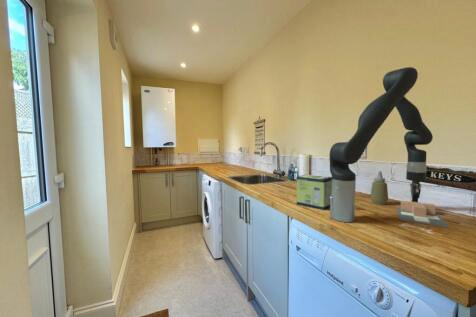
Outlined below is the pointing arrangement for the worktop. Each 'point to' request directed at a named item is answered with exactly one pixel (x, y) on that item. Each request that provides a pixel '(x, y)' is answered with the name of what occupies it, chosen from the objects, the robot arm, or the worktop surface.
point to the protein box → (314, 191)
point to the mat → (422, 218)
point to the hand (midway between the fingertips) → (414, 205)
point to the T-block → (418, 208)
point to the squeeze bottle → (379, 190)
